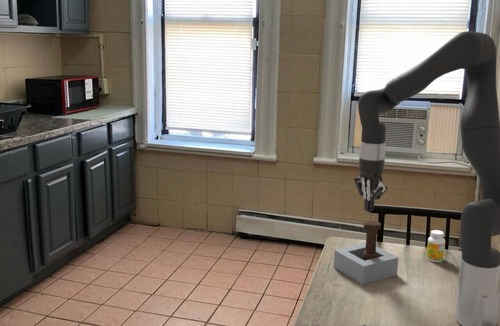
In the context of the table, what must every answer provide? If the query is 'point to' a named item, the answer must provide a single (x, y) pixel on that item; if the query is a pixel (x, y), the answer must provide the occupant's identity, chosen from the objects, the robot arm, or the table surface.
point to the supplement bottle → (436, 246)
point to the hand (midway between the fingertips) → (368, 211)
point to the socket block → (365, 264)
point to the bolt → (371, 239)
